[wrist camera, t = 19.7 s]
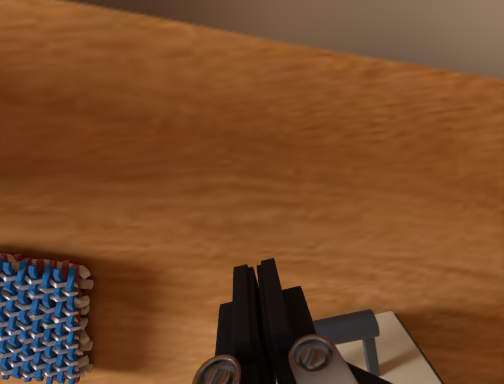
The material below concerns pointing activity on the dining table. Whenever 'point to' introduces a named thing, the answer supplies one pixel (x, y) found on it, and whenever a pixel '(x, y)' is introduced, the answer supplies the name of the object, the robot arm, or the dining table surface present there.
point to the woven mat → (43, 319)
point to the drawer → (377, 346)
